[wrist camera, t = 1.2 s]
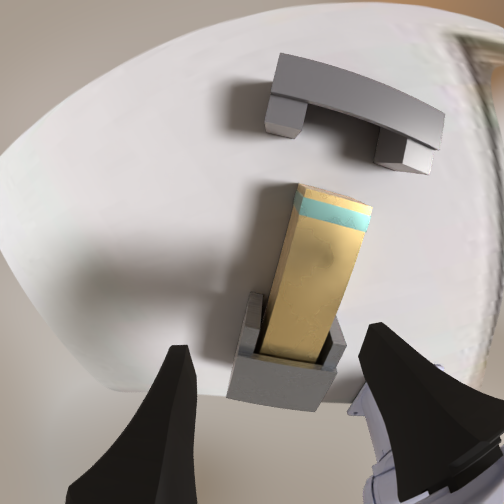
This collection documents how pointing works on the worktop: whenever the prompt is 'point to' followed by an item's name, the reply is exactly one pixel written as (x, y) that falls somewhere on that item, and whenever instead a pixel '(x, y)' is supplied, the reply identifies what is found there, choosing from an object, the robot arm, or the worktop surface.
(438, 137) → the socket
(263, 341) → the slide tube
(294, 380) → the sleeve
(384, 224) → the worktop surface
